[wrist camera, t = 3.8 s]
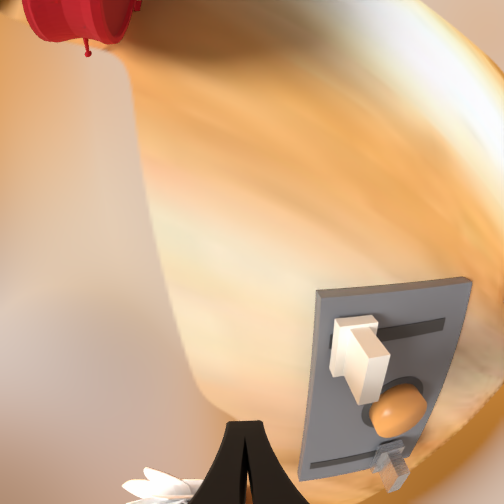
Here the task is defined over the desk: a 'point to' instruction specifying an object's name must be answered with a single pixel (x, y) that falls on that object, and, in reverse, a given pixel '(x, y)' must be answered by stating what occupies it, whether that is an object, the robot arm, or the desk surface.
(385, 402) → the push button
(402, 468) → the grey slider knob
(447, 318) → the panel
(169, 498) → the lotus flower
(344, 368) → the toggle lever
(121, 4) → the alarm clock
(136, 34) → the desk surface
